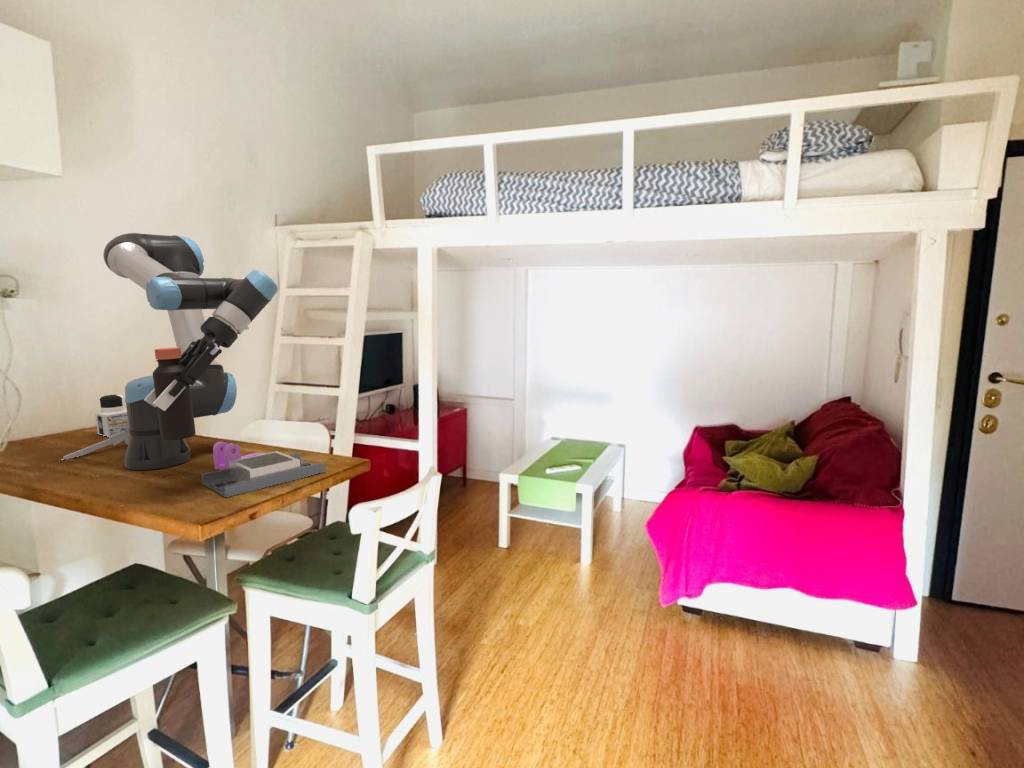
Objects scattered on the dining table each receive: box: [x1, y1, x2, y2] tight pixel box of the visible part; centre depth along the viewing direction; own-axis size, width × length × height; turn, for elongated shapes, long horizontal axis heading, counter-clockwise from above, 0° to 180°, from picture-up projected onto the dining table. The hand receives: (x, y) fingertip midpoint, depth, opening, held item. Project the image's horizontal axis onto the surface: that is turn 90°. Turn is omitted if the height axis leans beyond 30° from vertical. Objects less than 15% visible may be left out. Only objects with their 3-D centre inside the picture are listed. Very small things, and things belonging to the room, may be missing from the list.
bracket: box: [212, 441, 265, 470], centre depth 149 cm, size 13×6×7 cm, turn 153°
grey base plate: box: [201, 450, 326, 498], centre depth 137 cm, size 14×24×4 cm, turn 137°
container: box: [94, 394, 129, 438], centre depth 184 cm, size 8×8×13 cm
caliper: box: [60, 426, 130, 460], centre depth 162 cm, size 20×1×6 cm, turn 154°
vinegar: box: [152, 347, 197, 440], centre depth 125 cm, size 7×7×20 cm
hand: (154, 405), depth 122 cm, fingers closed on vinegar, 6 cm apart
